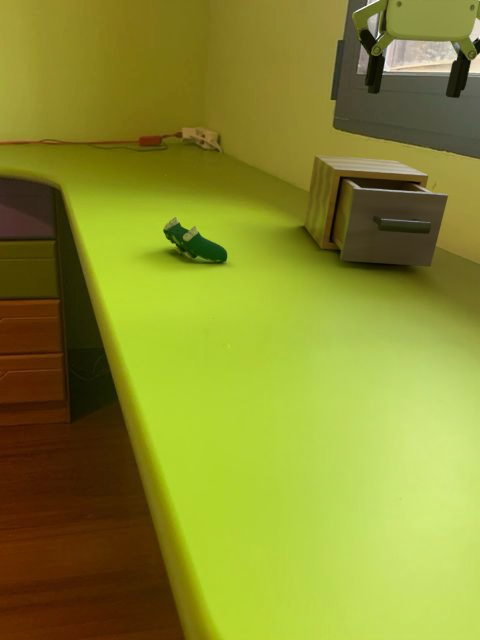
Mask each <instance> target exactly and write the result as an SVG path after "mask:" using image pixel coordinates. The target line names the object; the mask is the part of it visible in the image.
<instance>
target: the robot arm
mask: <svg viewBox="0 0 480 640" xmlns="http://www.w3.org/2000/svg"><path fill="white" fill-rule="evenodd" d="M378 14H379V19H378V33H379V35H378V36H377V37H376V38H375V36H374V34H372V32H371V31H370V28H369V23H368V21H369V19H370V18H371V17H373V16H376V15H378ZM351 20H352V23H353V27H354V29H355V32H356V36H357V37H356V38H357V40H358V42H359V43H360V44H361V46H362V48H363V49H364V50H365V51H366V55H367V56H368V60H367V65H366V67H367V68H366V72H365V73H366V74H365V79H364V86H366V87H367V93H368V94H371V95H377V94H379V93H380V91H381V85H382V79H383V74H384V68H385V63H386V62H385V61H386V57H385V56H383V55H384V51H385V50H386V49H387V48H388V47H389V45H391V44H392V43H393V41H394V40H395V41H397V40H398V41H412V42H413V41H414V42H415V41H416V42H417V41H418V42H435V43H436V42H439V43H446V42H450V44H451V46H452V48H453V50H454V52H455V53H456V55H457V56H456V59H454V60H453V61H452V63H451V68H450V72H449V77H448V81H447V85H446V91H445V96H446V97H447V98H451V99H459V98H460V97H461V94H462V91H463V92H464V90H465V89H466V86H467V82H468V77H469V74H470V73H469V72H470V69H471V64H472V61H474V60H476V58H477V56H478V55H480V35H479V36H478V37H477V38H475V39H474V40H473V41H472V39H471V37H470V36H471V35H472V32H473V30H474V27H475V23H476V20H479V21H480V0H376V1H373V2H371V3H369V4H368V5H366V6H363V7H361V8H359V9H357V10H356V11H354V12H353V13H352V15H351Z"/></svg>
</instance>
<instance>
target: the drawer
mask: <svg viewBox="0 0 480 640" xmlns="http://www.w3.org/2000/svg"><path fill="white" fill-rule="evenodd" d="M448 198H449V195H448V194H447V193H441V192H433V191H431V190H429V189H427V188H426V189H425V188H423V187H421V186H419V185H417V184H415V183H413V182H411V181H401V180H386V179H372V178H357V177H342V176H340V180H339V186H338V191H337V197H336V203H335V209H334V214H333V220H332V226H331V232H330V238H331V239H332V240H333V241H334V242H335V243H336V245H337V246H338V247H339V248H340V249H341V250H340V255H339V260H340V261H341V262H356V263H371V264H372V263H373V264H387V265H402V266H416V267H432V263H433V258H434V255H435V251H436V246H437V243H438V239H439V236H440V235H439V234H440V231H441V226H442V222H443V219H444V215H445V211H446V207H447V202H448Z"/></svg>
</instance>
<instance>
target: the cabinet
mask: <svg viewBox="0 0 480 640" xmlns="http://www.w3.org/2000/svg"><path fill="white" fill-rule="evenodd" d="M340 176H342V177H357V178H372V179H386V180H401V181H411V182H413V183H415V184H417V185H419V186H421V187H423V188H425V189H427V186H428V185H427V184H428V180H429V175H428V174H426V173H424V172H422V171H420V170H418V169H415V168H413V167H411V166H409V165H407V164H405V163H402V162H400V161H398V160H391V159H379V158H378V159H377V158H375V159H374V158H362V157H350V156H349V157H347V156H333V155H319V154H318V155H317V154H315V155H314V156H313V165H312V170H311V177H310V183H309V190H308V196H307V202H306V210H305V215H304V223H303V227H304V228H305V229H306V231H307V232H308V233H309V235H310V237H312V239H313V240H314V241H315V243H316V244H317V245H318V247H319V248H320V249H321V250H334V251H341V249H340V248H339V247H338V246H337V245H336V243H335V242H334V241H333V240H332V239H331V238H330V232H331V226H332V220H333V214H334V209H335V203H336V197H337V191H338V186H339V180H340Z"/></svg>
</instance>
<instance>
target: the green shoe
mask: <svg viewBox="0 0 480 640" xmlns="http://www.w3.org/2000/svg"><path fill="white" fill-rule="evenodd" d="M197 228H198V227H197V226H192V227H191V228H190V229H188V228H185V227H183V226H182V225H181V223H180V221H179V220H178V217H176V216H174V217H173V218H172V219H170V220H168V223H165V225H164V227H163V229H162V232H163V234H164V235H165V236H164V237H165V238H166V239H167V241H169V242H170V243H171V244H174V245H175V247H174V250H175V251H176V252H177V253H178V254H182V253H184V256H185V257H186V258H188V259H189V260H192V259H196V258H200V259H202V260H203V259H204V260H206V261H210V262H215V263H225V262H227V261H228V252H227V249H226V248H224V247H223V246H222V245H220V244H219V243H216V242H214V241H212V240H209V239H207V238H206V237H204V236H203V235H201V233H200V232H199V231H198V229H197Z"/></svg>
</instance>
